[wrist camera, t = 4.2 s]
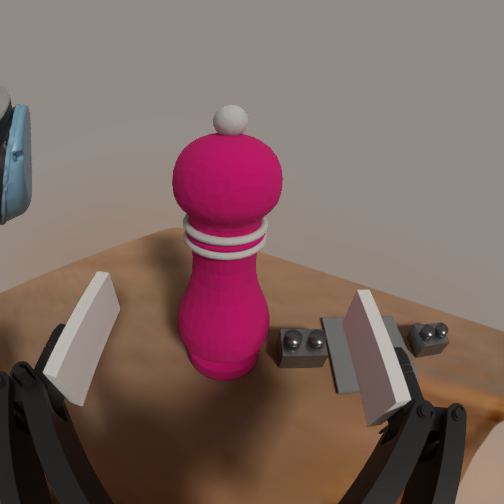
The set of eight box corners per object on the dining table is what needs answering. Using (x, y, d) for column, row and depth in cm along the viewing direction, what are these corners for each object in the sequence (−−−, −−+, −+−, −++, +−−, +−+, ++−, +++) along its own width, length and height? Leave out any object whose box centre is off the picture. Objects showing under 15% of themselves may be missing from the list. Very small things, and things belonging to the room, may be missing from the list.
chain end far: (415, 357, 23) (428, 341, 22) (406, 336, 26) (418, 319, 24) (440, 353, 23) (453, 337, 22) (431, 333, 26) (442, 317, 24)
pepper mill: (276, 343, 25) (321, 113, 13) (235, 401, 19) (260, 115, 8) (214, 312, 27) (217, 100, 16) (167, 358, 22) (129, 109, 11)
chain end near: (279, 367, 22) (284, 350, 21) (277, 341, 25) (281, 323, 23) (322, 367, 23) (331, 350, 21) (317, 341, 25) (324, 323, 23)
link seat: (337, 394, 20) (338, 392, 20) (321, 319, 28) (322, 317, 27) (417, 381, 21) (419, 380, 20) (391, 318, 28) (392, 316, 28)
